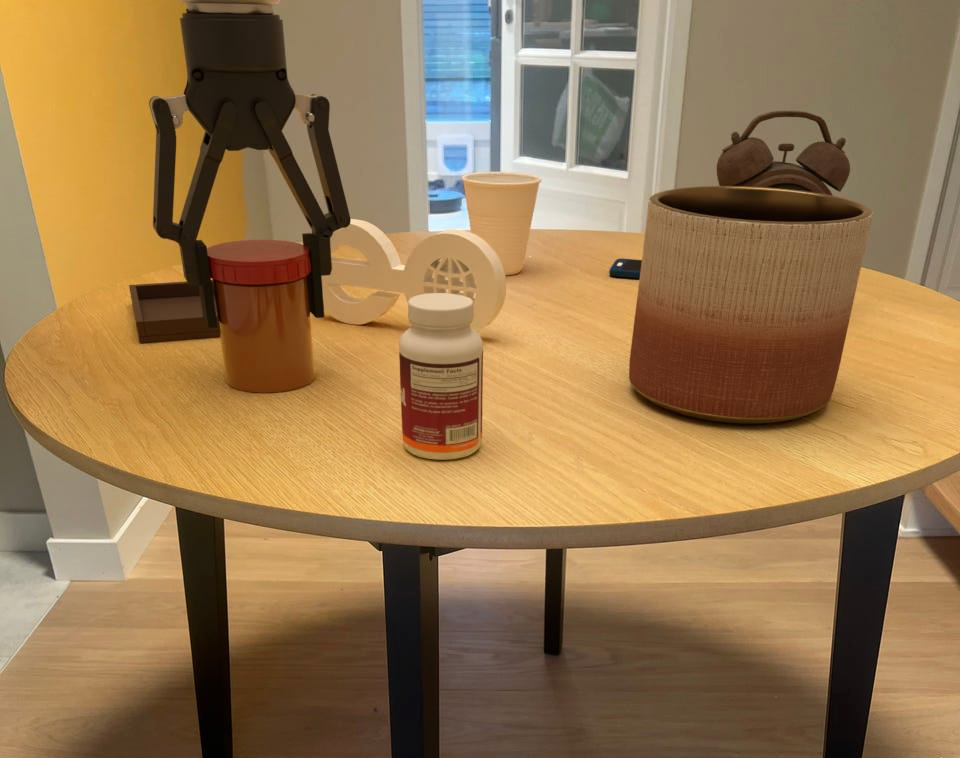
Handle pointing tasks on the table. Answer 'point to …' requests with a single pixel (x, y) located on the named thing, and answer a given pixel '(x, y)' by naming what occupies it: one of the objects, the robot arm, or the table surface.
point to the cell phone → (626, 268)
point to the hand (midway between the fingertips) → (264, 318)
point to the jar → (265, 335)
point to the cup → (502, 212)
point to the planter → (745, 300)
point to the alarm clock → (756, 166)
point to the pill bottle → (441, 378)
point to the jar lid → (258, 261)
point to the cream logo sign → (412, 273)
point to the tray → (169, 312)
